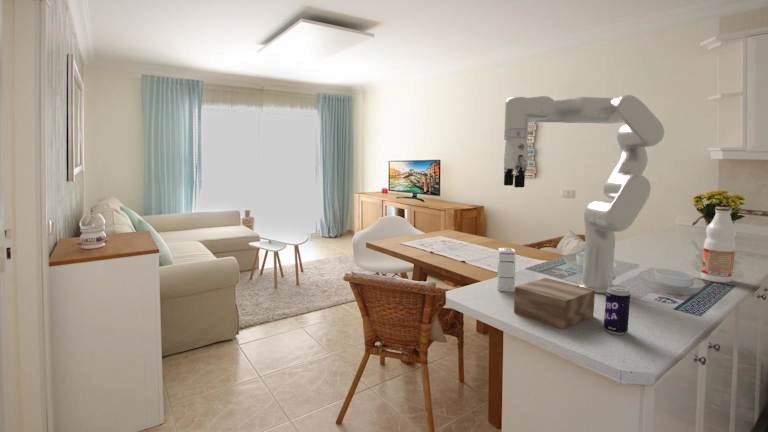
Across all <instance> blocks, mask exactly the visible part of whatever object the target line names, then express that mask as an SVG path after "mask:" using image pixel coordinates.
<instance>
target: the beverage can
mask: <svg viewBox="0 0 768 432" xmlns="http://www.w3.org/2000/svg"><path fill="white" fill-rule="evenodd" d="M631 295H632V294H631V292H630V288H628V287H625V286H621V285H615V286H609V287H608V290H607V291H606V293H605V305H604V315H603V316H604V318H603V328H604V329H605V330H606V332H608V333H610V334H613V335H619V336H620V335H624V334H625V333H627V332H628V330H629V319H630V306H631V305H630V304H631Z"/></svg>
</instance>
